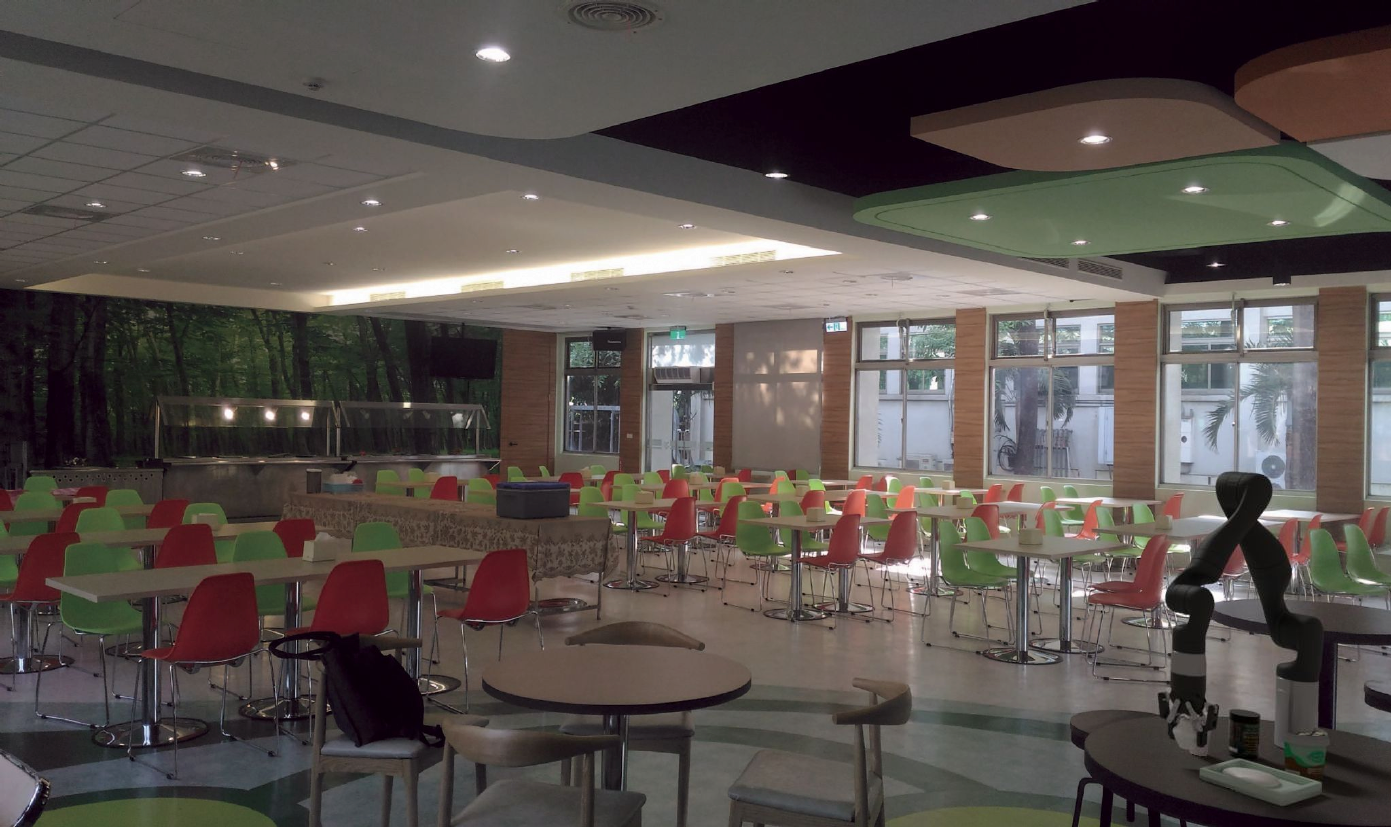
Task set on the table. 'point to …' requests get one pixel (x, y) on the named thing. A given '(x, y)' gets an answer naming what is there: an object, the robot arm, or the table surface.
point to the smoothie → (1202, 750)
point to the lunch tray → (1261, 781)
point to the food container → (1306, 753)
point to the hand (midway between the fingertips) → (1187, 742)
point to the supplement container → (1244, 734)
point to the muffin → (1186, 734)
